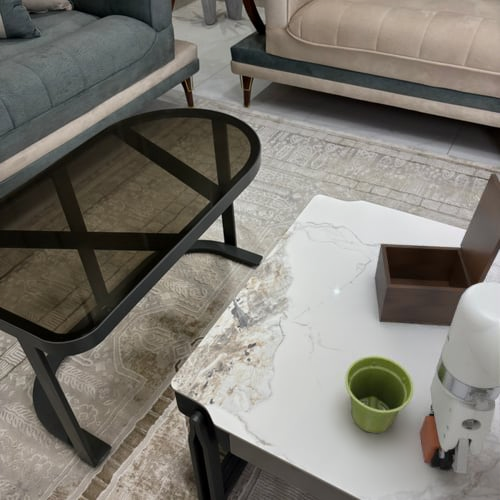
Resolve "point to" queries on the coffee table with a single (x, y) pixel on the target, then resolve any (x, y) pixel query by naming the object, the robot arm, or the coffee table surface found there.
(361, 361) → the plant pot
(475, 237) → the lid
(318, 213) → the coffee table surface
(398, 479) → the coffee table surface
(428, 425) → the block
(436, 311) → the chest
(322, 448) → the coffee table surface
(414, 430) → the coffee table surface
